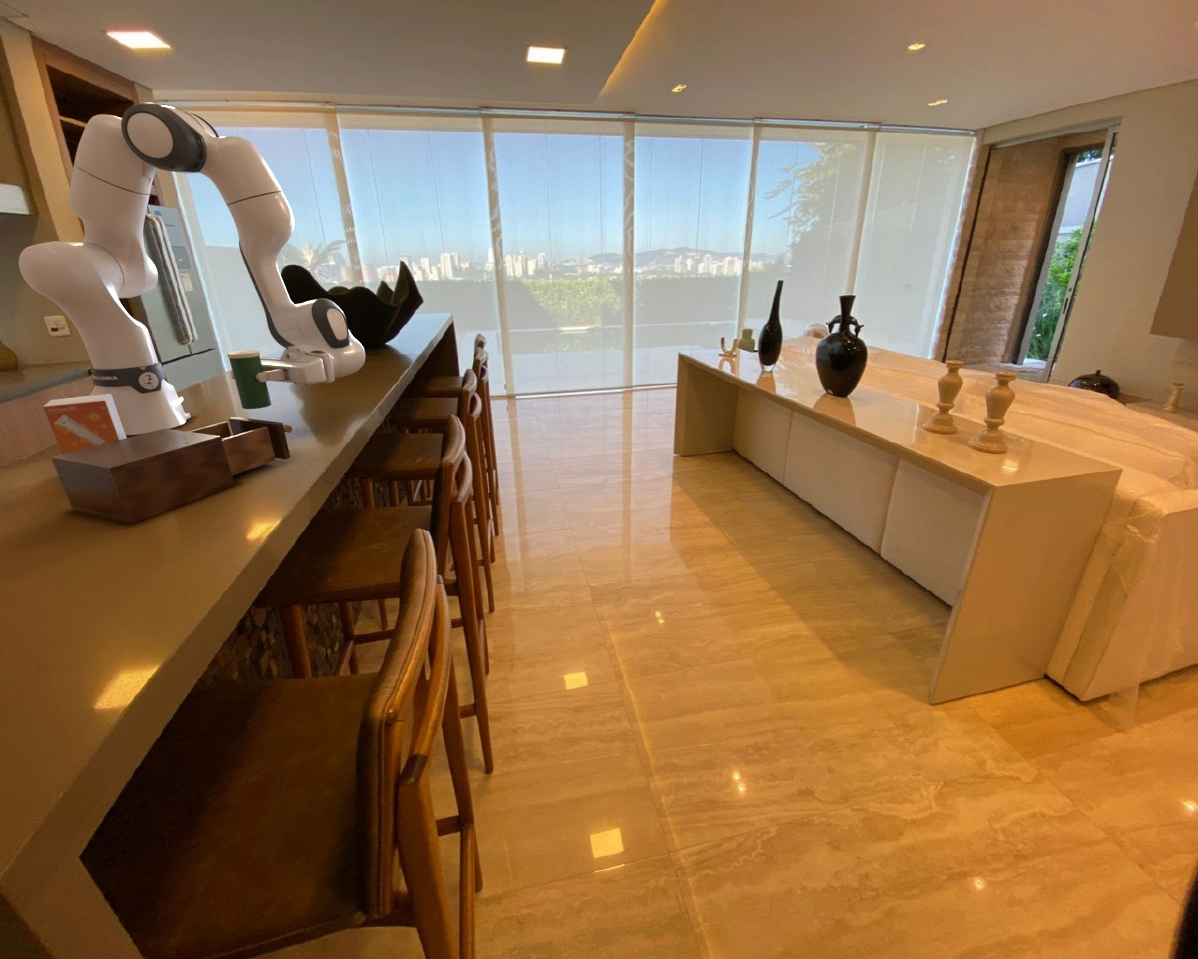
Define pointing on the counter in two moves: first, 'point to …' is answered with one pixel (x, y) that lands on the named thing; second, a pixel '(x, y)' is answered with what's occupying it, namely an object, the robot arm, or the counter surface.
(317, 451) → the counter surface
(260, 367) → the ball tube
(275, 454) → the drawer
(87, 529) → the counter surface
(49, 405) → the small box
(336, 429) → the counter surface
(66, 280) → the robot arm
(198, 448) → the cabinet
